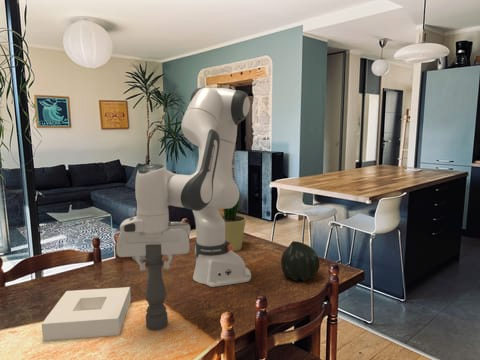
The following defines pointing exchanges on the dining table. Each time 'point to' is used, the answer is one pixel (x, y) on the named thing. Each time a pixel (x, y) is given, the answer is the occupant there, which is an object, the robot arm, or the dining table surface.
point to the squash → (299, 261)
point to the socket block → (87, 314)
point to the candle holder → (155, 289)
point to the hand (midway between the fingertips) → (154, 269)
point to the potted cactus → (234, 227)
